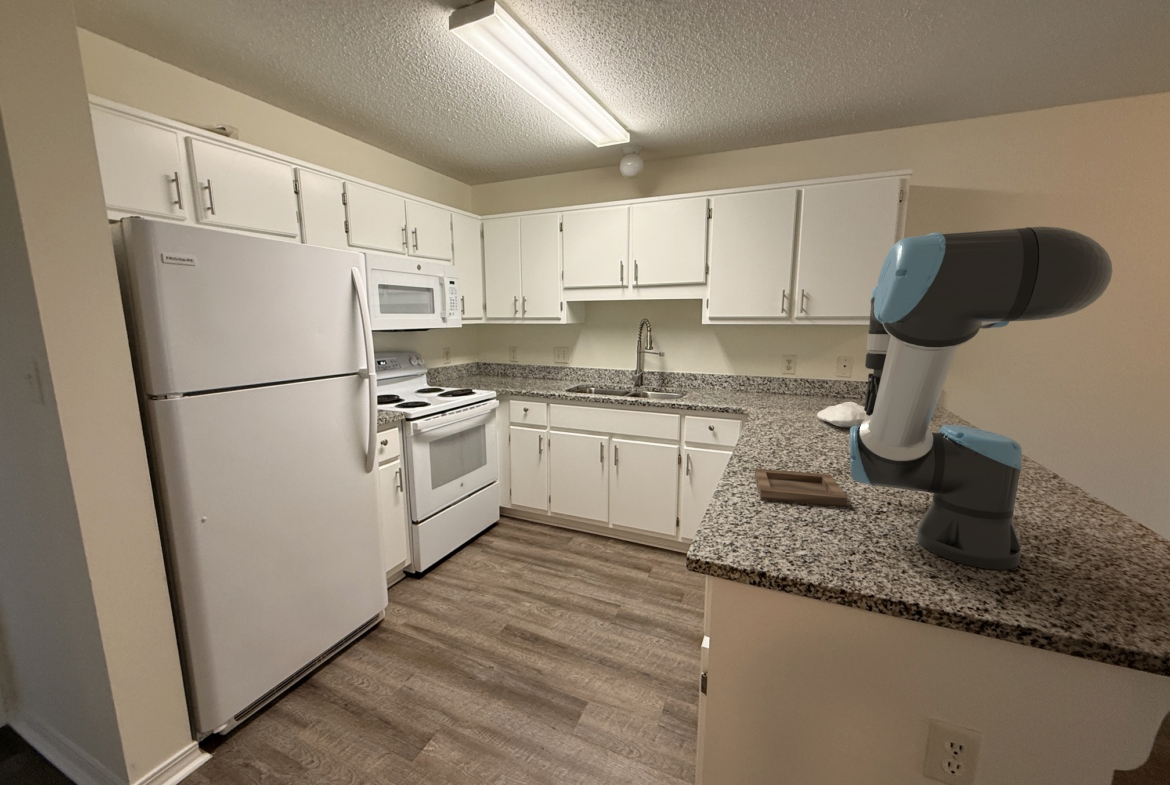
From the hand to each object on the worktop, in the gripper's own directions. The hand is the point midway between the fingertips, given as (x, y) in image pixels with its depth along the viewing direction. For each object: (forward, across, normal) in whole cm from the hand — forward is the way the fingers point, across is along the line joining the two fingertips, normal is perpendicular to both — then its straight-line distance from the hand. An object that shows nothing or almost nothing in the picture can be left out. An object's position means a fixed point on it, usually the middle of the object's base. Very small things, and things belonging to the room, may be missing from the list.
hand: (875, 445), depth 110 cm
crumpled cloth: (+14, +86, -14) cm, 88 cm away
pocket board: (+13, -1, +17) cm, 21 cm away
